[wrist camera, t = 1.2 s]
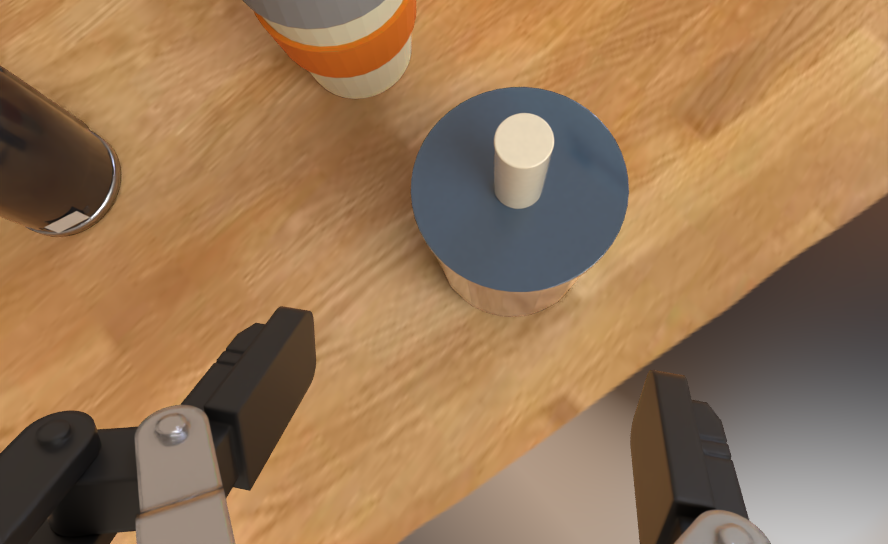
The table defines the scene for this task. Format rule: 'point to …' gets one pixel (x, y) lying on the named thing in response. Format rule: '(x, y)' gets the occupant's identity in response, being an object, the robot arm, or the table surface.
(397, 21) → the reusable coffee cup
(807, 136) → the table surface
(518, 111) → the lid
